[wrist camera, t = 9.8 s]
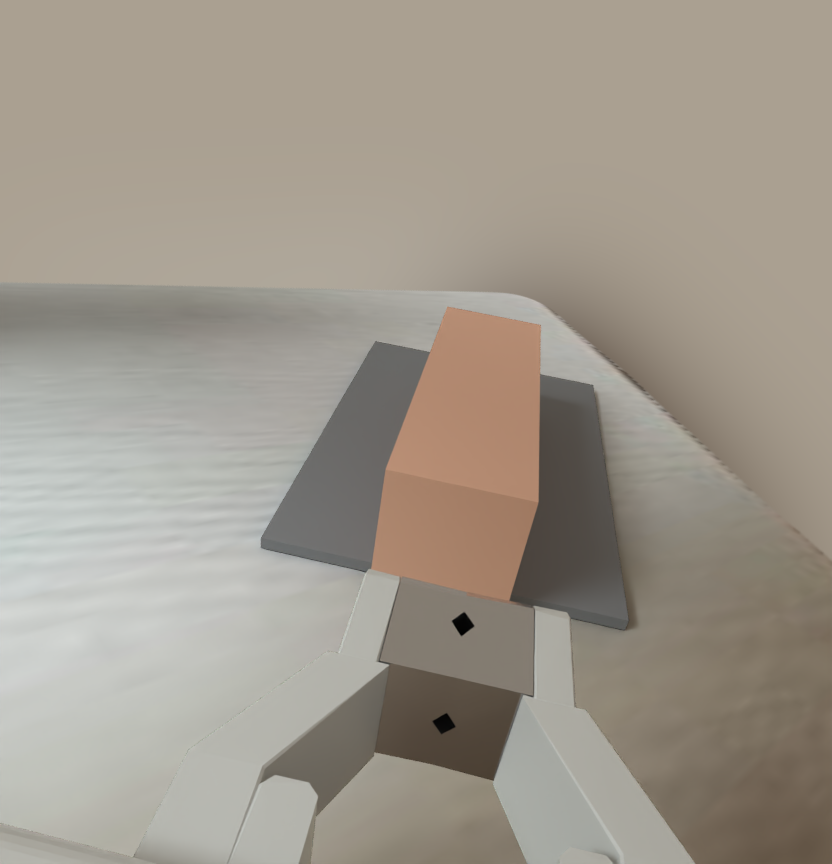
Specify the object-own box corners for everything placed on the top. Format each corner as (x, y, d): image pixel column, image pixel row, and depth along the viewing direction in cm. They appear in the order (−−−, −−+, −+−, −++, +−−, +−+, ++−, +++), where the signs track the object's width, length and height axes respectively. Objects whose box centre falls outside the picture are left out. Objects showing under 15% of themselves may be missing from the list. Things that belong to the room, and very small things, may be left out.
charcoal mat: (624, 630, 24) (628, 620, 24) (260, 547, 25) (261, 537, 25) (590, 392, 41) (593, 384, 41) (374, 348, 42) (375, 341, 42)
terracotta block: (538, 502, 21) (540, 324, 35) (385, 469, 21) (447, 306, 35) (505, 613, 23) (519, 407, 37) (369, 581, 24) (433, 389, 38)
